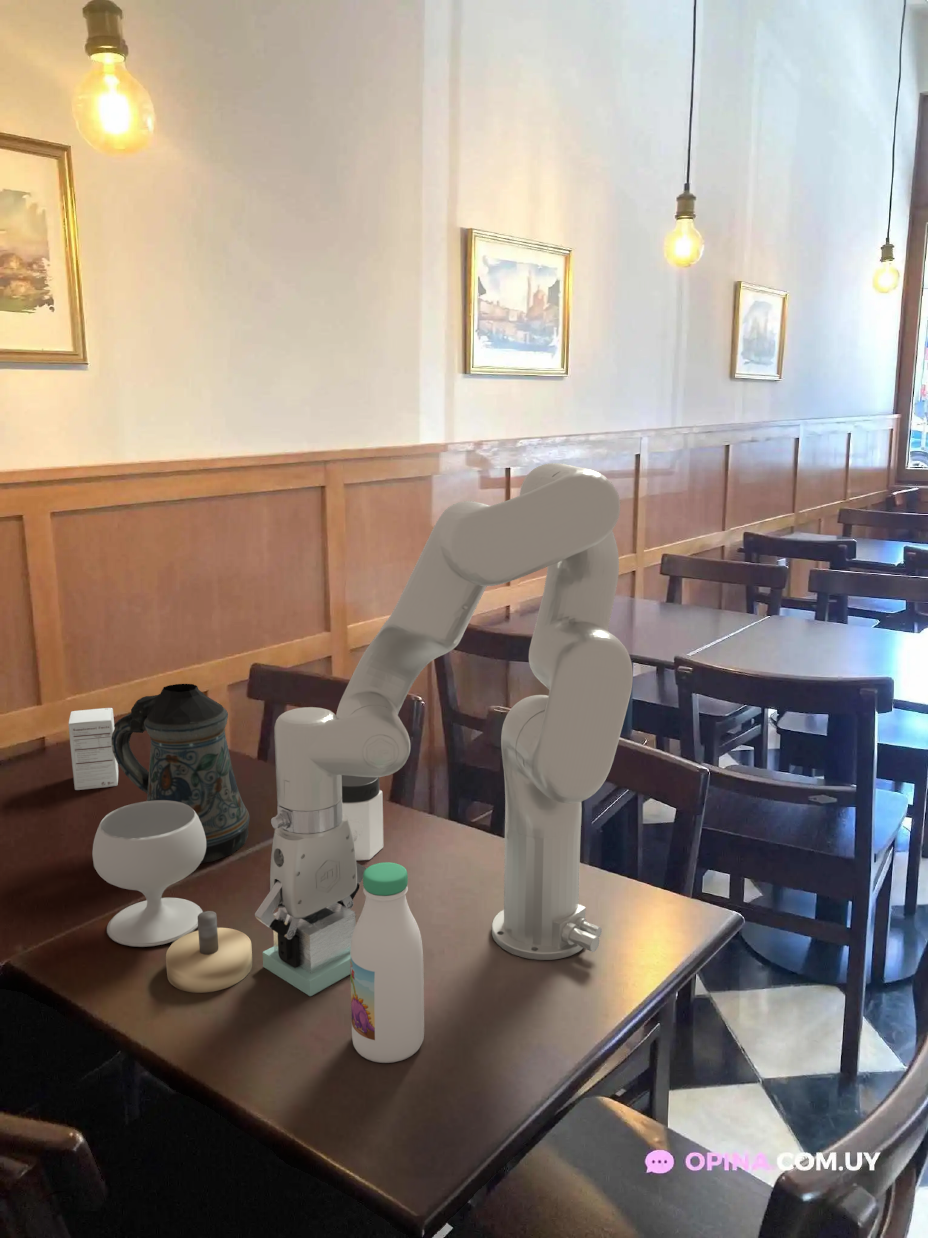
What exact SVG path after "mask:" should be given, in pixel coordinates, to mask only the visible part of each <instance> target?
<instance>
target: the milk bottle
mask: <svg viewBox="0 0 928 1238" xmlns="http://www.w3.org/2000/svg"><path fill="white" fill-rule="evenodd" d="M408 877H409V876H408V871H407V869H406V867H404V866H403V865H401V864H398V863H396V862H388V861H384V862H379V863H378V862H377V863H374V864H371V865H369V866H368V867H366V870H365V871H364V874H363V879H362V884H363V890H362V892H363V894H364V896H365V900H364V901H365V902H364V905H363V908H362V910H361V912H360V915H359V917H358V918H357V919H358V920H357V922H356V926H355V929H354V932H353V936H352V940H351V954H350V974H349V975H350V1010H351V1011H350V1012H351V1017H350V1019H351V1038H352V1039H351V1040H352V1045H353V1047H354V1049H355V1050H356V1052H357V1053H358V1054H359V1055H360V1056H361V1057H363V1058H364V1059H366V1060H368V1061H371V1062H374V1063H381V1064H389V1063H396V1062H401V1061H403V1060H404V1061H405V1060H406V1059H408V1058H410V1057H412V1056H413V1055H414V1054H416V1053H417V1052H418V1051H419V1050H420V1048H421V1046H422V1044H423V1042H424V1039H425V1037H424V1036H425V990H424V989H425V986H424V985H425V984H424V975H425V974H424V953H423V942H422V934H421V931H420V928H419V925H418V923H417V921H416V919H415V917H414V915H413V913H412V911H411V909H410V907H409V903H408V900H407V897H406V894H407V893H408V890H409V887H408V884H409V881H408V880H409V879H408Z"/></svg>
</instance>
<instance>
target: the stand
mask: <svg viewBox="0 0 928 1238" xmlns="http://www.w3.org/2000/svg"><path fill="white" fill-rule="evenodd" d="M350 954H351V953H349V954H347V955H345V956H343V957H341V958H340V959H338V960H336V961H334V962H332V963H330V964H329V965H327V966H325V967H323V968H321V969H319V970H318V971H316V972H314V973H312V974H310V973H309V972H307V971H305V970H304V969H302V968H300V967H299V966H298V967H296V968H294V967H292V966H290V965H289V964H287V963H286V962H284V961H282V960H281V959H280V957H279V954H277V953H276V952H274V945H273V946H272V947H270V948H268V949H266V950H263V951H262V967H263V968H265V969H266V970H268V971H269V972H271V973H272V974H274V975H276V976H277V977H279V978H280V979H282V980H284V981H285V982H287V983H288V984H290V985H291V986H292V987H294V988H296V989H298V990H300V992H303V993H304V994H306V995H307V996H309V997H312V996H314V995H316V994H318V993H319V992H321V991H323V990H325V989H326V988H328V987H330V986H331V985H333V984H335V983H337V982H339V981H340V980H342V979H344V978H346V977H347V976H349V975H350Z"/></svg>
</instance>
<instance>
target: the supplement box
mask: <svg viewBox="0 0 928 1238" xmlns="http://www.w3.org/2000/svg"><path fill="white" fill-rule="evenodd" d="M114 717H115V716H114V709H113V708H112V707H105V708H104V707H102V708H92V709H83V710H82V709H80V710H74V711H73V710H72V711H70V715H69V719H68V733H69V745H70V755H71V757H70V758H71V766H72V775H73V784H74V785H73V787H74V790H75V791H80V790H82V791H83V790H91V789H100V788H109V787H117V786H118V783H119V764H118V763H117V761H116V758H115V756H114V754H113V750H112V734H113V731H114V729H115V727H114V725H115V719H114Z"/></svg>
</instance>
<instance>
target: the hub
mask: <svg viewBox="0 0 928 1238" xmlns="http://www.w3.org/2000/svg"><path fill="white" fill-rule="evenodd" d="M252 950H253V949H252V941H251V939H250V938H249V936H248V935H247V934H246V933H244V932H242V931H240V930H237V929H235V928H234V929H233V928H230V927H229V928H228V927H218V919H217V913H216V912H215V911H213V910H207V911H206V910H205V911H203V912H202V913H200V914H199V915H198V927H197V930H194V931H193V932H191V933H189V934H186V935H184V936H182V937H181V938H179V939H177V940H176V941H173V942H172V943H171V945H170V946H169V947H168V949H167V950H166V952H165V953H166V954H165V960H166V961H165V962H166V974H167V975H166V976H167V980H168V982H169V983H170V985H172V986H173V987H175V989H178V990H180V991H183V992H187V993H198V994H200V993H203V994H204V993H213V992H217V991H221V990H224V989H228V988H230V987H232V986H234V985H236V984H238V983H240V982H241V981H242V980H243V979H245V978H246V977H247V975H249V973H250V972H251V971H252V967H253V953H252V952H253V951H252Z"/></svg>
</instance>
